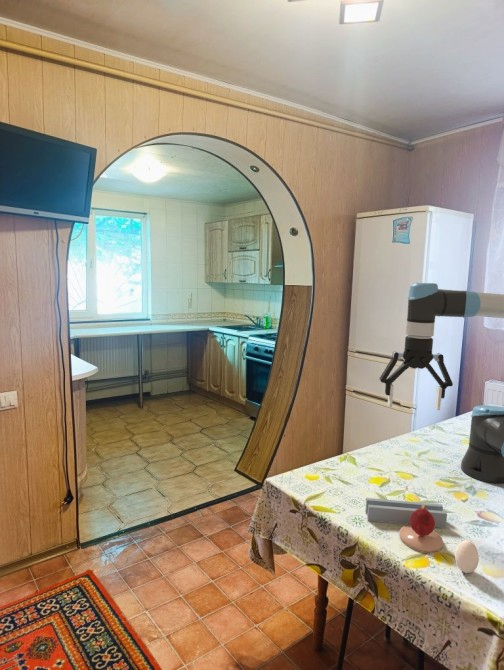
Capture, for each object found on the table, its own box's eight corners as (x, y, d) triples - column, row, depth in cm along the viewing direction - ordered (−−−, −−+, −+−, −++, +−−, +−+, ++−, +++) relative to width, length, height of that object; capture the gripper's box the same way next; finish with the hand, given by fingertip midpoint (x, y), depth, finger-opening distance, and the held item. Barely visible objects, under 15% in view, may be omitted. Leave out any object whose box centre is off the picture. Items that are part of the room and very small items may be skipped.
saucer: (435, 530, 112) (435, 526, 112) (448, 554, 102) (448, 550, 102) (395, 526, 113) (396, 522, 113) (404, 550, 103) (404, 546, 103)
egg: (469, 564, 99) (473, 534, 98) (481, 578, 94) (484, 547, 93) (450, 564, 99) (453, 534, 98) (460, 578, 94) (463, 547, 93)
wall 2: (444, 525, 114) (445, 511, 114) (445, 527, 113) (447, 513, 112) (367, 518, 117) (368, 504, 116) (367, 520, 115) (368, 506, 115)
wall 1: (440, 517, 118) (441, 504, 117) (441, 520, 116) (442, 506, 116) (365, 511, 120) (366, 497, 119) (365, 513, 119) (366, 500, 118)
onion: (435, 544, 104) (438, 514, 103) (410, 541, 105) (413, 510, 104) (430, 530, 110) (433, 501, 109) (407, 527, 111) (409, 498, 110)
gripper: (459, 336, 127) (453, 406, 130) (373, 332, 130) (368, 400, 133) (469, 340, 119) (462, 414, 123) (377, 336, 122) (372, 408, 125)
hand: (413, 407), depth 128 cm, fingers open, 13 cm apart
